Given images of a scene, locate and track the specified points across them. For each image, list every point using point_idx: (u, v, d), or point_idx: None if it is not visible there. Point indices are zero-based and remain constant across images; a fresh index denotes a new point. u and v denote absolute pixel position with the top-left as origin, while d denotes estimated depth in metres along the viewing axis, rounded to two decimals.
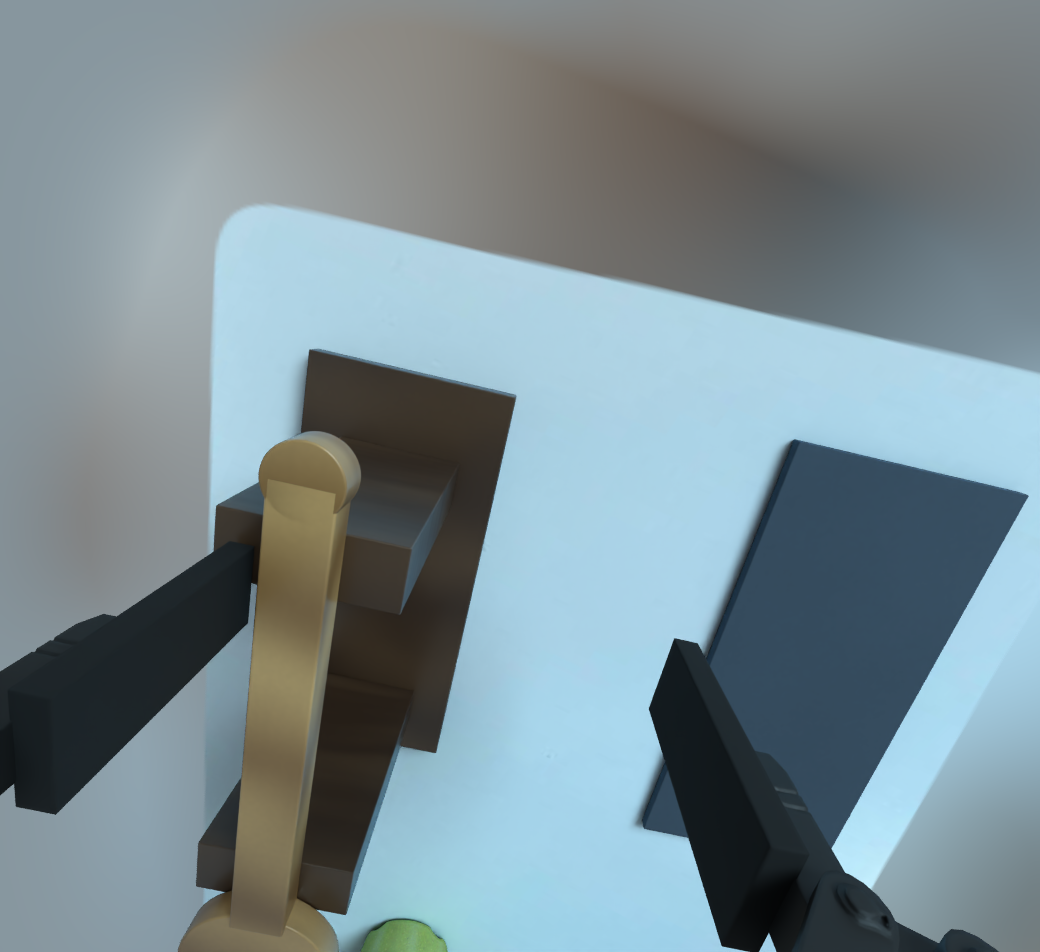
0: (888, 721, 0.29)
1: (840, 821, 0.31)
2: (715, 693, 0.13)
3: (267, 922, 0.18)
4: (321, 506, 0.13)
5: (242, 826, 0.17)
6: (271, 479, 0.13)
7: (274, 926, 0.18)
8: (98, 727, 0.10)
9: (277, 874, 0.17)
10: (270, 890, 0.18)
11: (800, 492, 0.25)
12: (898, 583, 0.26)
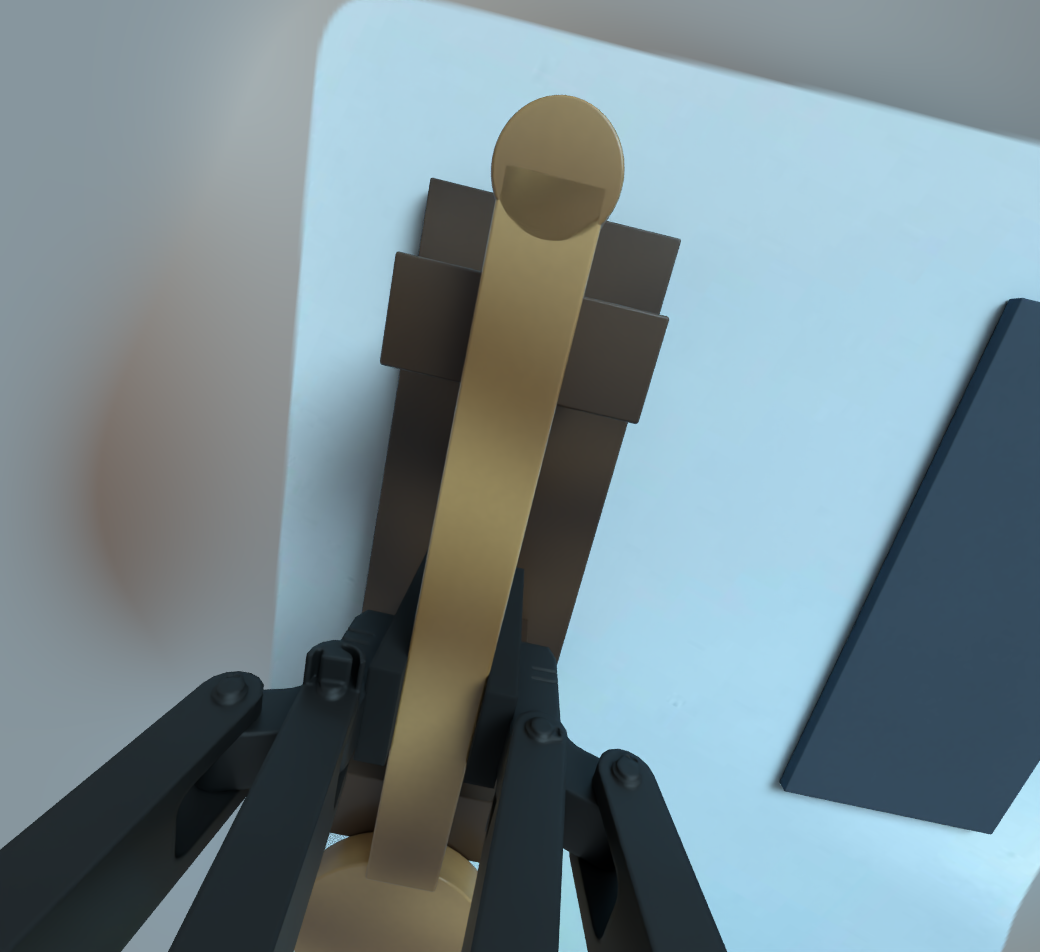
0: None
1: (1019, 781, 0.26)
2: (514, 601, 0.15)
3: (418, 871, 0.14)
4: (582, 211, 0.09)
5: (401, 731, 0.12)
6: (512, 164, 0.09)
7: (427, 876, 0.14)
8: None
9: (440, 801, 0.13)
10: (428, 825, 0.13)
11: (1015, 364, 0.21)
12: None
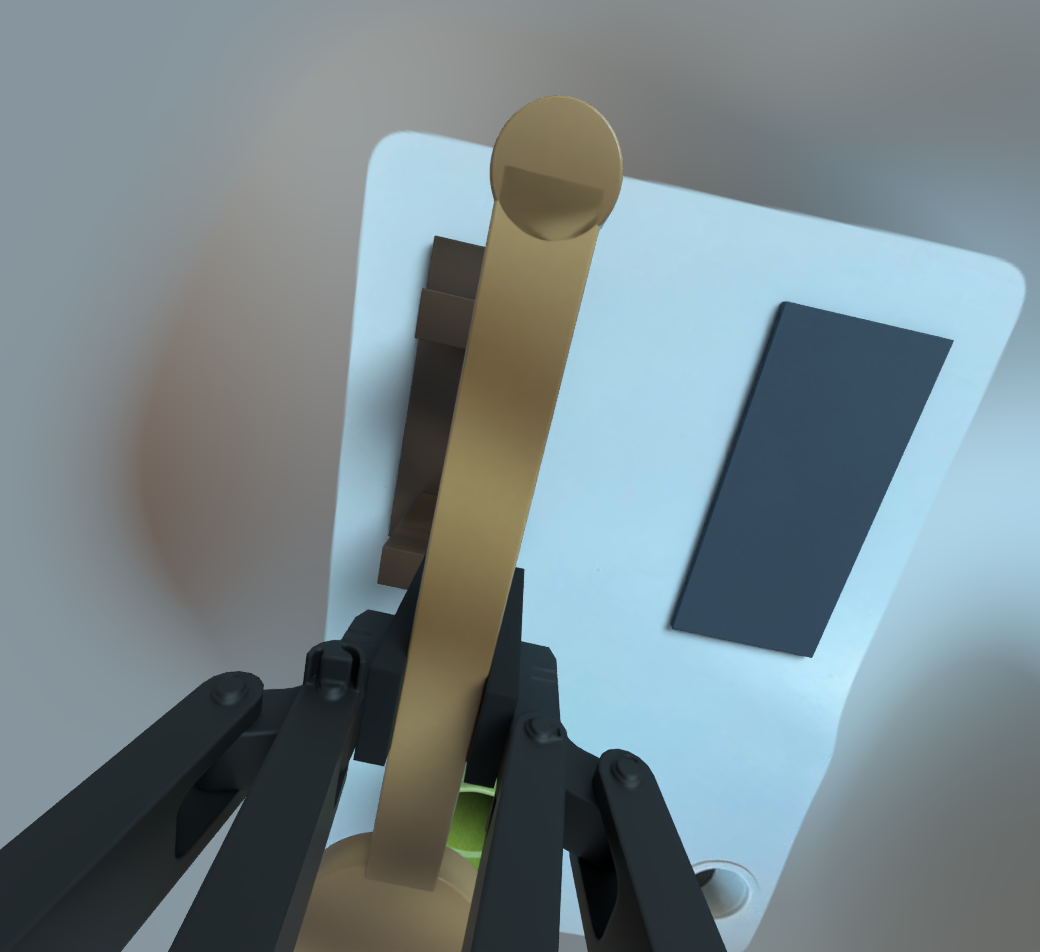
0: (859, 529, 0.38)
1: (825, 618, 0.40)
2: (514, 601, 0.15)
3: (417, 871, 0.14)
4: (580, 211, 0.09)
5: (400, 731, 0.12)
6: (511, 165, 0.09)
7: (427, 876, 0.14)
8: None
9: (440, 801, 0.13)
10: (427, 825, 0.13)
11: (787, 341, 0.34)
12: (862, 412, 0.35)
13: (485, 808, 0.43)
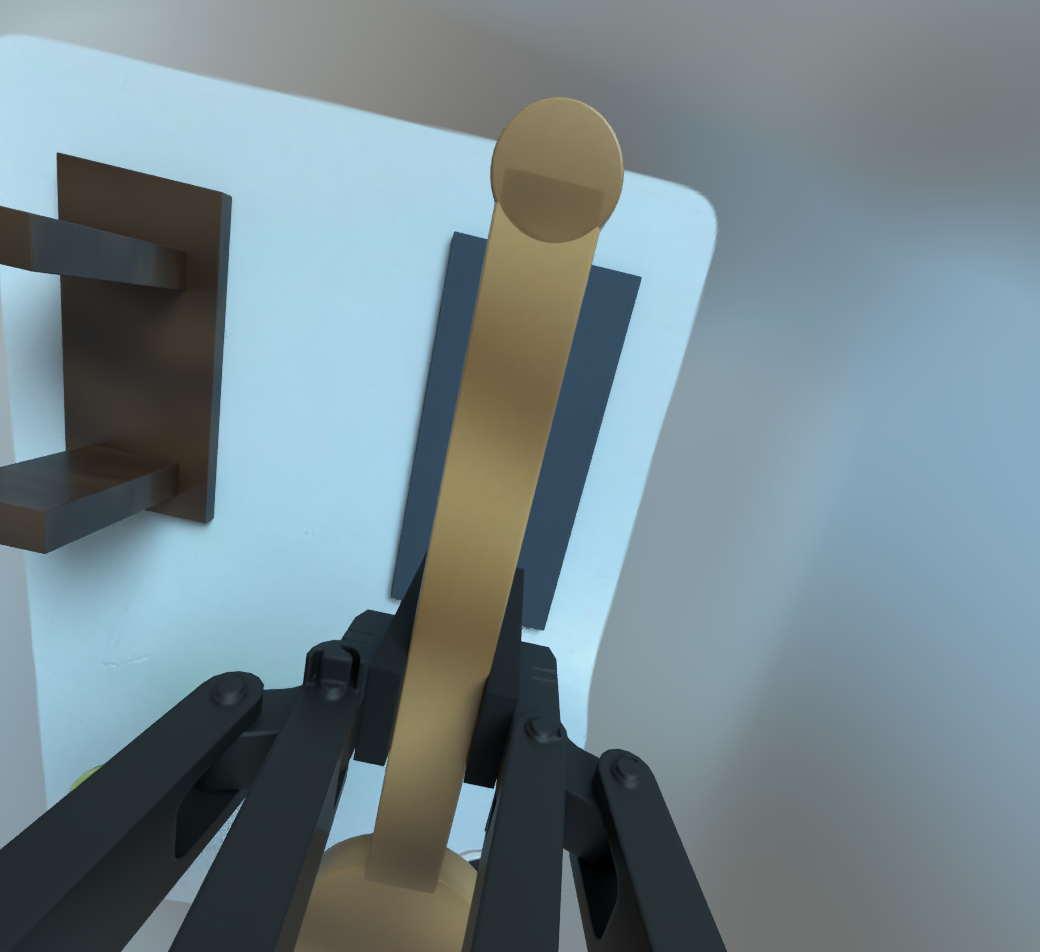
0: (571, 488, 0.35)
1: (550, 586, 0.37)
2: (514, 601, 0.15)
3: (418, 872, 0.14)
4: (581, 213, 0.09)
5: (400, 733, 0.12)
6: (512, 166, 0.09)
7: (427, 878, 0.14)
8: None
9: (440, 803, 0.13)
10: (427, 826, 0.13)
11: (462, 276, 0.31)
12: None
13: None
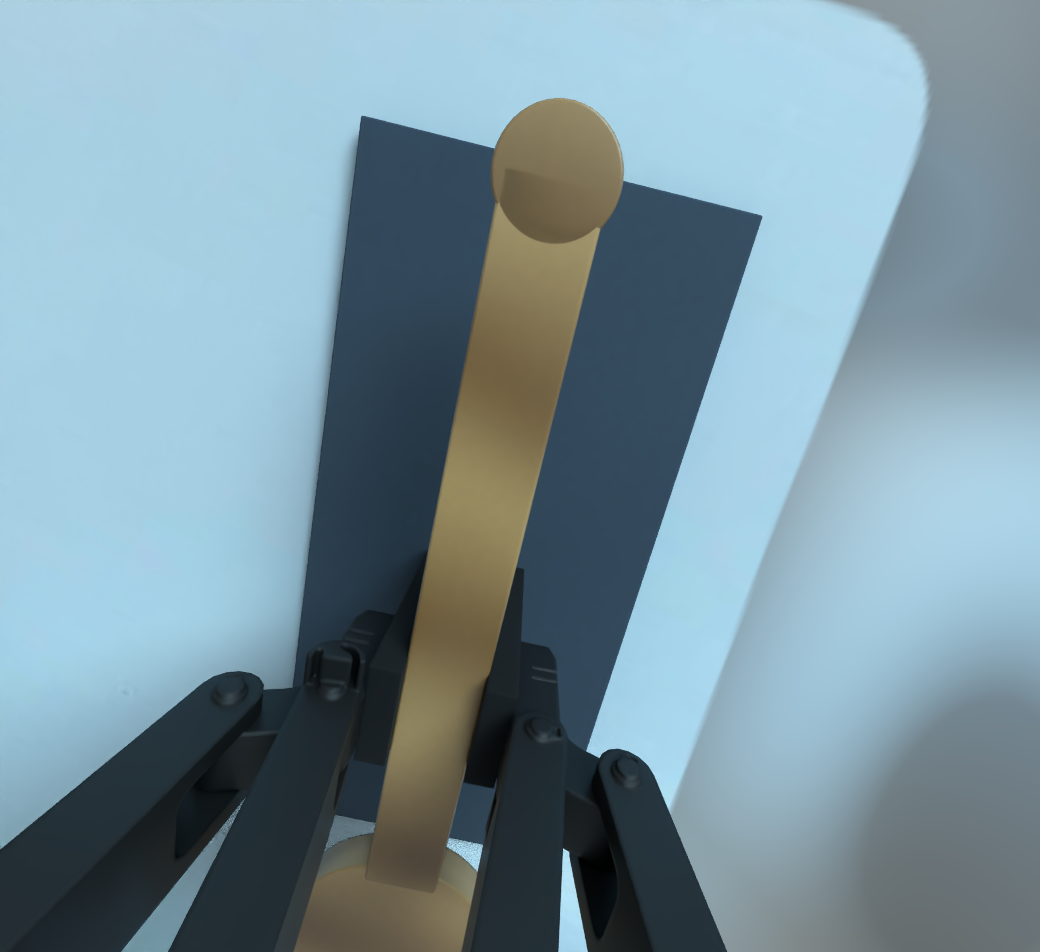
0: (604, 628, 0.18)
1: None
2: (514, 601, 0.15)
3: (418, 872, 0.14)
4: (581, 214, 0.09)
5: (400, 733, 0.12)
6: (511, 167, 0.09)
7: (427, 878, 0.14)
8: None
9: (440, 803, 0.13)
10: (428, 826, 0.13)
11: (382, 216, 0.15)
12: (576, 385, 0.16)
13: None
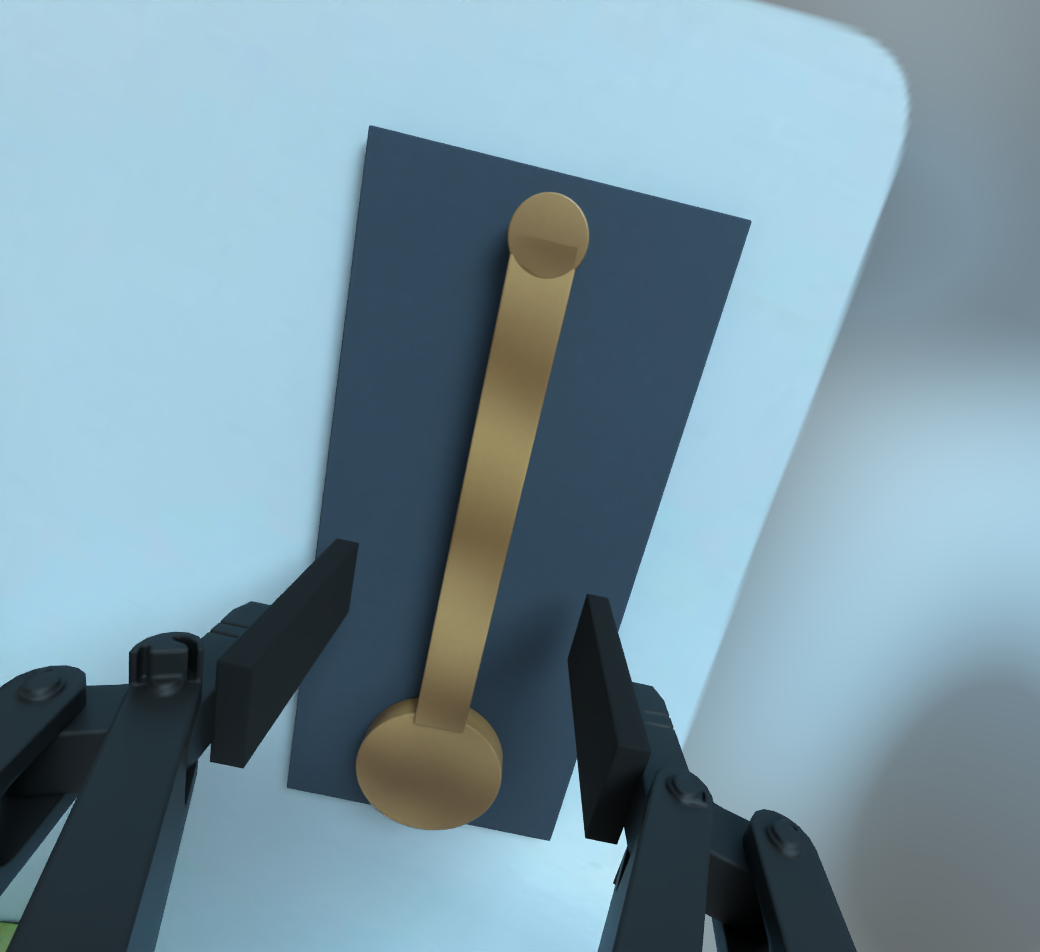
0: None
1: (562, 775, 0.21)
2: (610, 635, 0.15)
3: (451, 716, 0.19)
4: (563, 261, 0.15)
5: (442, 609, 0.18)
6: (520, 232, 0.14)
7: (458, 721, 0.19)
8: (270, 696, 0.12)
9: (468, 662, 0.18)
10: (459, 680, 0.19)
11: (389, 220, 0.15)
12: (574, 383, 0.17)
13: None
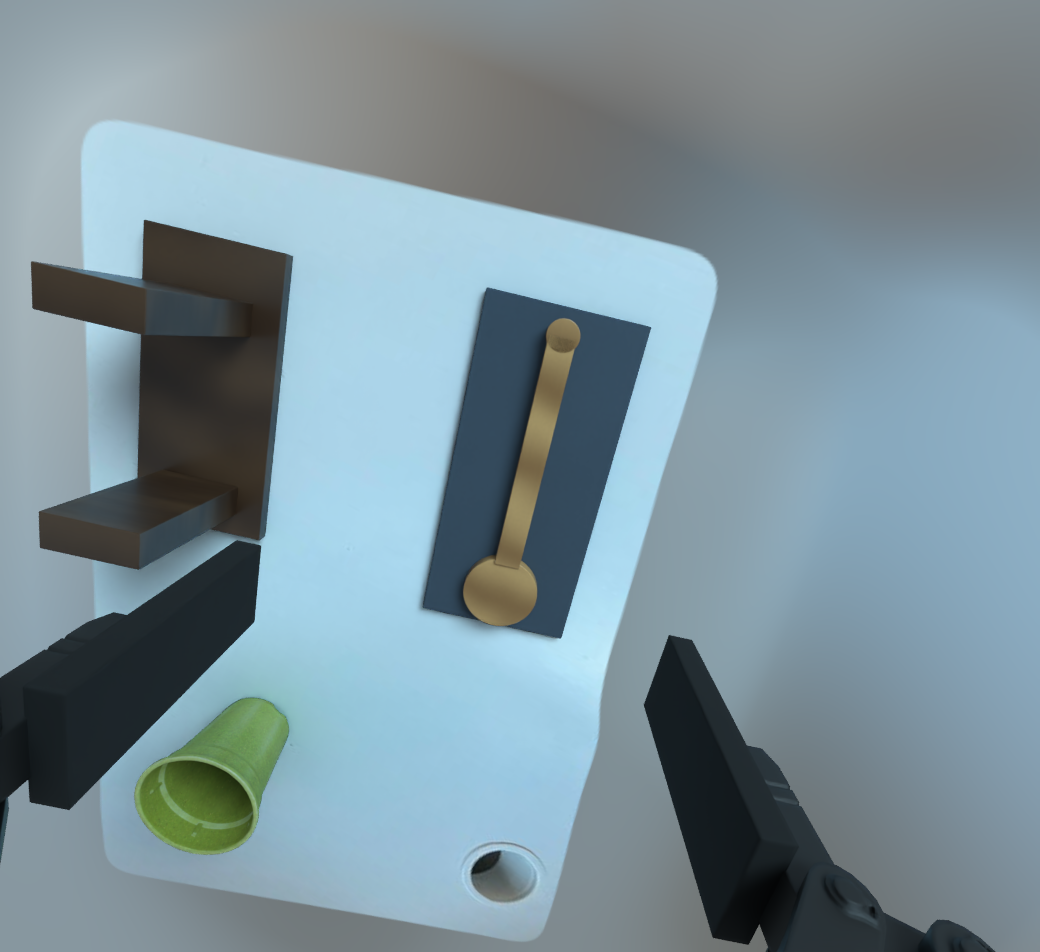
0: (587, 511, 0.39)
1: (567, 599, 0.41)
2: (708, 689, 0.13)
3: (513, 559, 0.39)
4: (569, 345, 0.34)
5: (511, 503, 0.38)
6: (551, 334, 0.34)
7: (516, 562, 0.39)
8: (110, 724, 0.10)
9: (523, 530, 0.38)
10: (518, 540, 0.38)
11: (493, 326, 0.35)
12: (574, 396, 0.37)
13: None
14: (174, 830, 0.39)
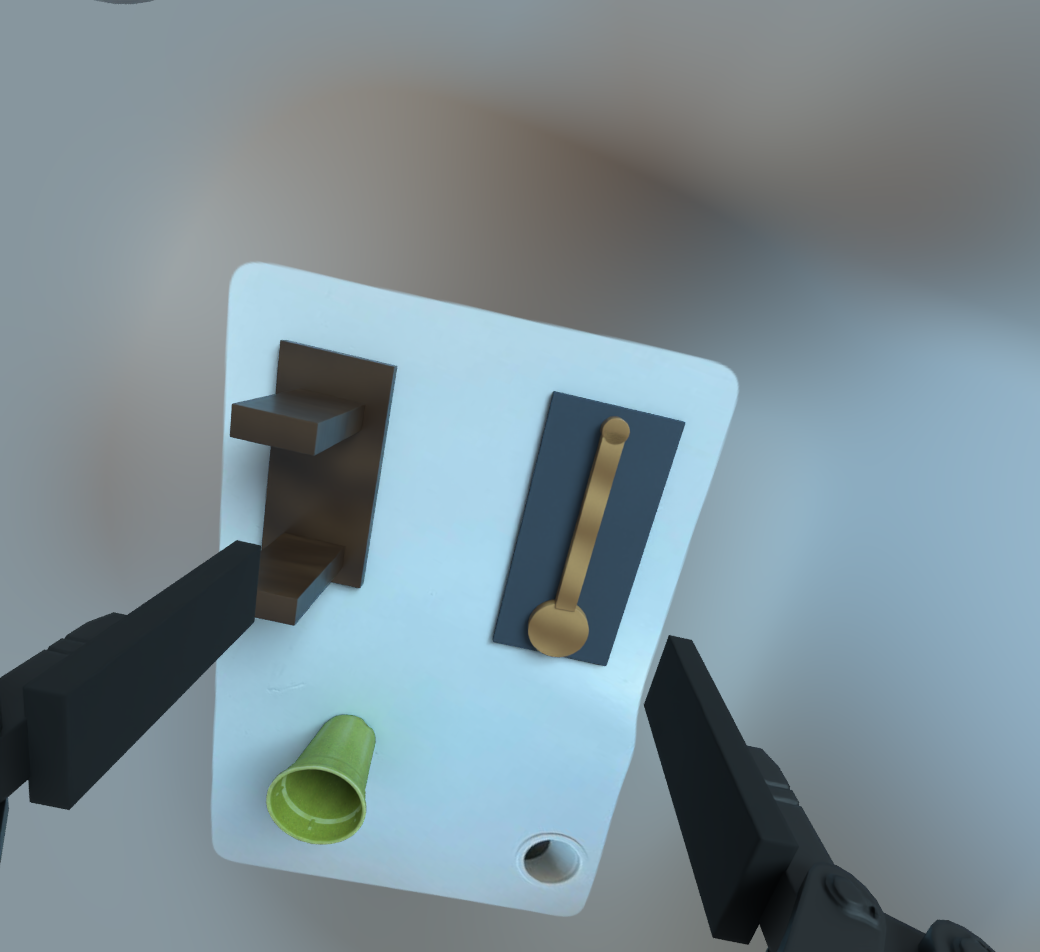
0: (630, 565, 0.48)
1: (612, 634, 0.50)
2: (708, 689, 0.13)
3: (570, 604, 0.48)
4: (620, 439, 0.43)
5: (570, 560, 0.46)
6: (606, 430, 0.43)
7: (573, 606, 0.48)
8: (110, 724, 0.10)
9: (579, 581, 0.47)
10: (574, 589, 0.47)
11: (558, 421, 0.44)
12: (622, 475, 0.45)
13: (346, 786, 0.53)
14: (295, 824, 0.48)
